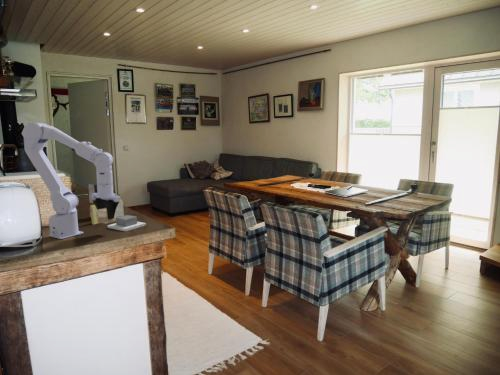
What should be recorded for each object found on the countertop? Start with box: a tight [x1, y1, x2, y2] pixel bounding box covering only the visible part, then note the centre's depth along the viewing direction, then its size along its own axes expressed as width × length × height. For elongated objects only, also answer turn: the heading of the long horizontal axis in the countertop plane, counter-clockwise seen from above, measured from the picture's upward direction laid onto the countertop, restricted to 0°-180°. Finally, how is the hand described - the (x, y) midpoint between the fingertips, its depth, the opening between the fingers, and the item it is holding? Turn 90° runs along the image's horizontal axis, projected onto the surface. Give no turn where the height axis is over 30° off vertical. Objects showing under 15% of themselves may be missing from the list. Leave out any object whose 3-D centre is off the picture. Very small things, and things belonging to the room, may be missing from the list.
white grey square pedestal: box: [106, 214, 147, 232], centre depth 151 cm, size 11×11×4 cm
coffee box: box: [88, 182, 98, 218], centre depth 167 cm, size 9×6×16 cm
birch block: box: [98, 208, 116, 225], centre depth 140 cm, size 4×4×5 cm
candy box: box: [89, 199, 125, 225], centre depth 161 cm, size 16×2×8 cm, turn 149°
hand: (106, 217), depth 140 cm, fingers closed on birch block, 4 cm apart
